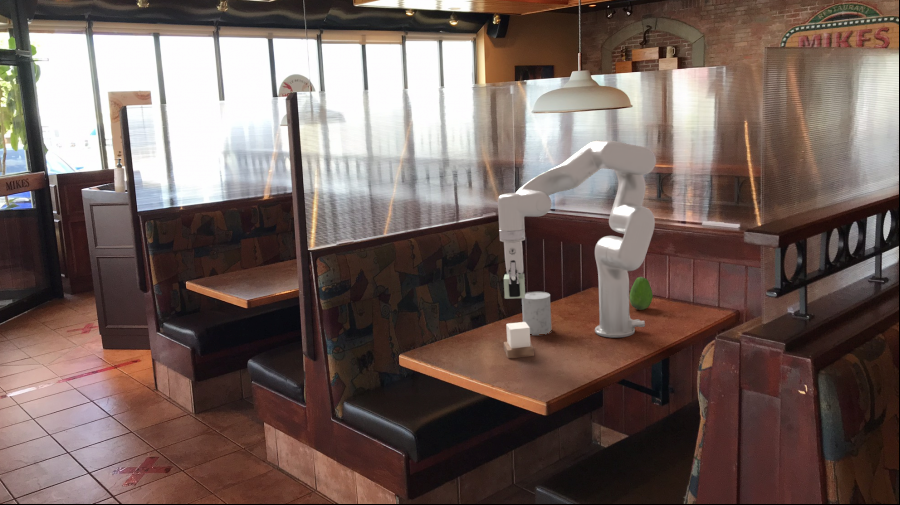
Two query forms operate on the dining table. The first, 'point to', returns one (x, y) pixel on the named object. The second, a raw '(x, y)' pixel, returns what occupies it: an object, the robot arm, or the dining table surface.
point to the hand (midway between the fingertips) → (515, 293)
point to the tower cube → (518, 335)
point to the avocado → (641, 294)
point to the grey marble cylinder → (537, 312)
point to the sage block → (522, 286)
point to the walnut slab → (518, 351)
